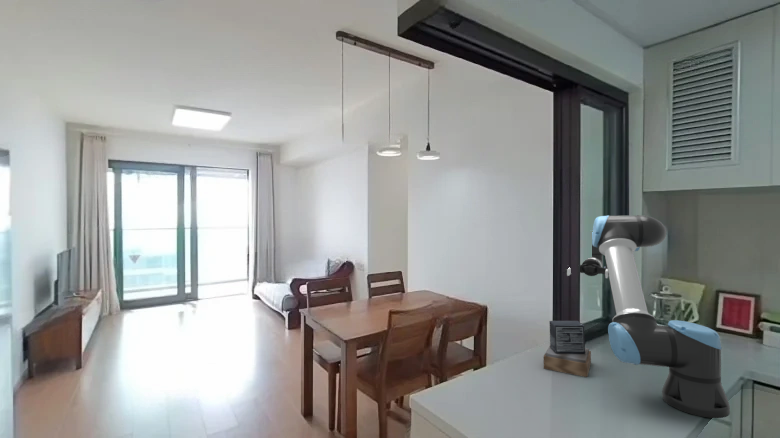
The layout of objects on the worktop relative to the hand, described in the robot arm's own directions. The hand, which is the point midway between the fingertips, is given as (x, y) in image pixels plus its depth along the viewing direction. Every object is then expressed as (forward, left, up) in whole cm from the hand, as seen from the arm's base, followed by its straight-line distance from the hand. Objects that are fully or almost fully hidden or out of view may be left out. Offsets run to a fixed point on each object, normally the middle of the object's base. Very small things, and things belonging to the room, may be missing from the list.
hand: (586, 273), depth 147 cm
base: (+5, +18, -32) cm, 37 cm away
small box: (+5, +18, -27) cm, 32 cm away
